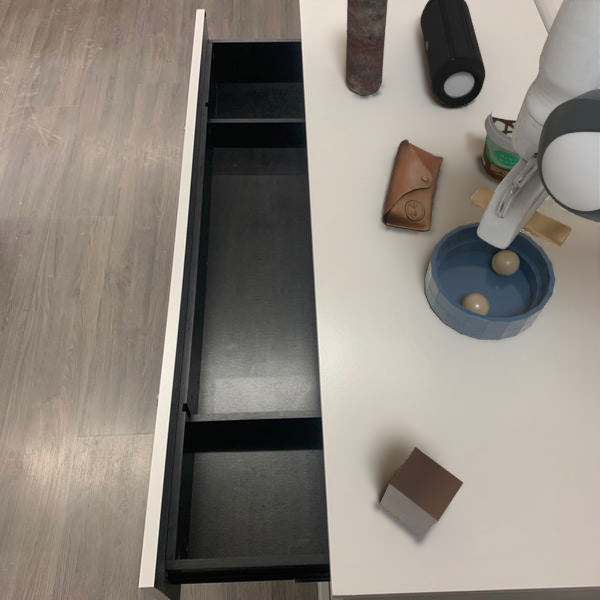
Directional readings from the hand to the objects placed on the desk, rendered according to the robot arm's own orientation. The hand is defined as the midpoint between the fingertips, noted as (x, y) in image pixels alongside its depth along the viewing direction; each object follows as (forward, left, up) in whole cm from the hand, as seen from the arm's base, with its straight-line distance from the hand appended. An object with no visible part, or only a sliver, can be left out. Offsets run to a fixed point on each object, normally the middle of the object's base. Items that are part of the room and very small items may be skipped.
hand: (519, 219), depth 65 cm
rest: (-8, +32, -19) cm, 38 cm away
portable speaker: (+34, -44, -19) cm, 59 cm away
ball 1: (+1, +3, -18) cm, 18 cm away
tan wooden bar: (0, 0, 0) cm, 0 cm away
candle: (+45, -30, -19) cm, 57 cm away
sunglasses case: (+20, -12, -19) cm, 30 cm away
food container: (+10, -25, -19) cm, 33 cm away
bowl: (+1, -1, -19) cm, 19 cm away
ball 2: (+1, -6, -18) cm, 19 cm away
